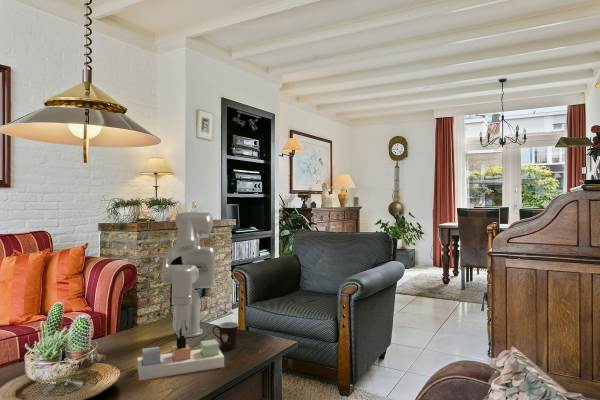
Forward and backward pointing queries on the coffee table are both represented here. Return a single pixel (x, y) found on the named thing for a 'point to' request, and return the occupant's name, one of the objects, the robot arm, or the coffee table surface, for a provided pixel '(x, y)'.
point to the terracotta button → (180, 353)
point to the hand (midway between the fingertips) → (181, 347)
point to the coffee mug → (227, 335)
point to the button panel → (179, 365)
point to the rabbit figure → (100, 357)
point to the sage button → (209, 348)
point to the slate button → (150, 356)
